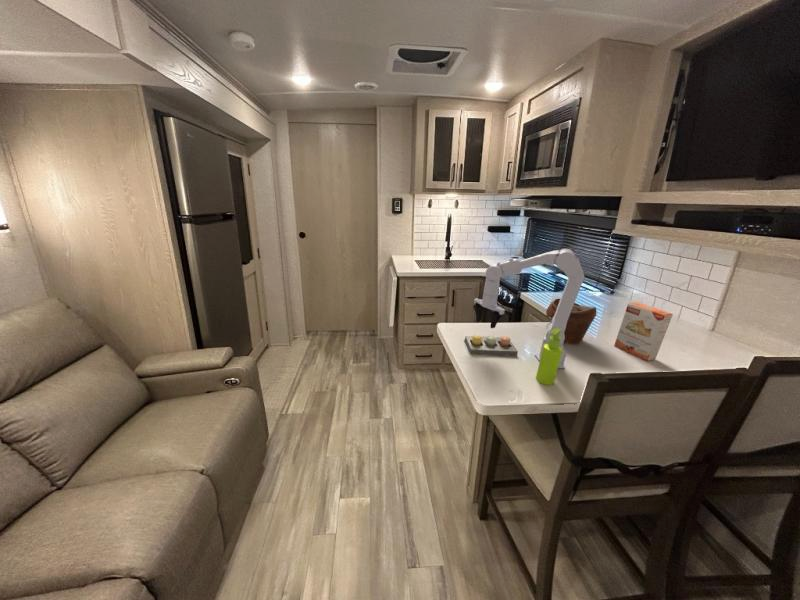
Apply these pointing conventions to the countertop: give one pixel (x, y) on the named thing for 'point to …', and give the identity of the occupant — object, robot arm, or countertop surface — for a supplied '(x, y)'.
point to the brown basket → (574, 321)
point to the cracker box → (642, 330)
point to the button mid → (490, 341)
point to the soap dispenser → (550, 359)
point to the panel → (490, 347)
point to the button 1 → (476, 340)
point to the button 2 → (505, 341)
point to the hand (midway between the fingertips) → (485, 324)
